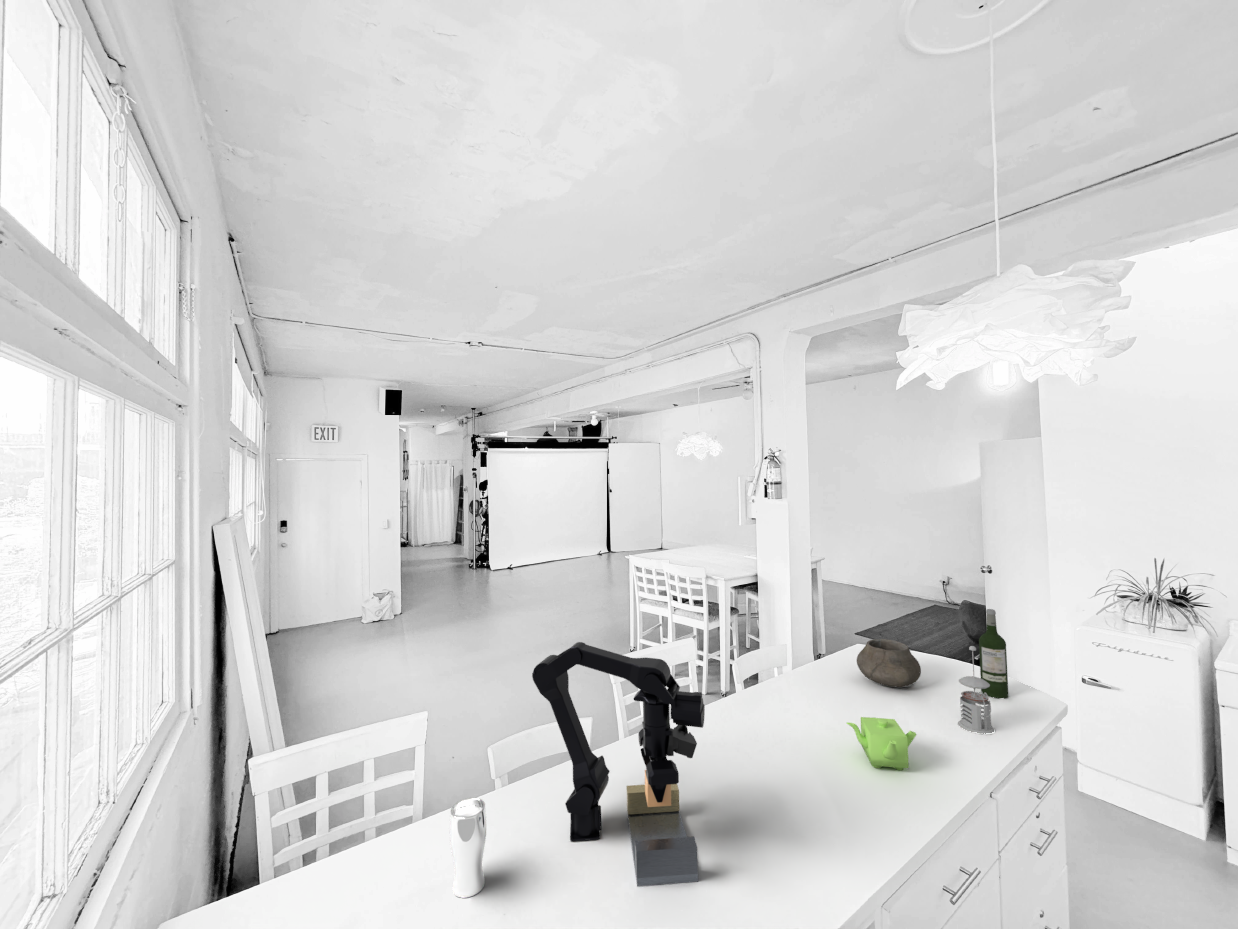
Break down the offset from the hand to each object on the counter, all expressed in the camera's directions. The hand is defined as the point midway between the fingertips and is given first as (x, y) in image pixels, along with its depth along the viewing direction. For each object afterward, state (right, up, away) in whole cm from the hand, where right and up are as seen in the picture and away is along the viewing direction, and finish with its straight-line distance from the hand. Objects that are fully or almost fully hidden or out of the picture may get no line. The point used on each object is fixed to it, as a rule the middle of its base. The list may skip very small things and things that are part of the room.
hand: (657, 794), depth 112 cm
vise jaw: (0, -9, +9) cm, 13 cm away
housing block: (0, -1, 0) cm, 1 cm away
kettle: (+64, -11, +30) cm, 72 cm away
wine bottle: (+126, -11, +73) cm, 146 cm away
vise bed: (0, -11, 0) cm, 11 cm away
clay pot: (+94, -12, +85) cm, 127 cm away
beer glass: (-38, -11, -11) cm, 41 cm away
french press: (+103, -11, +48) cm, 114 cm away
